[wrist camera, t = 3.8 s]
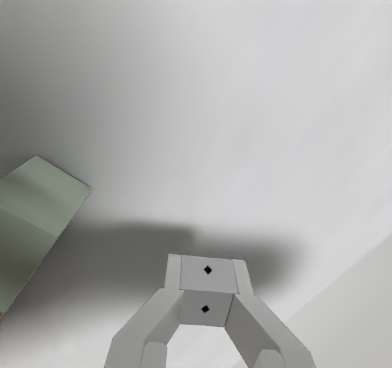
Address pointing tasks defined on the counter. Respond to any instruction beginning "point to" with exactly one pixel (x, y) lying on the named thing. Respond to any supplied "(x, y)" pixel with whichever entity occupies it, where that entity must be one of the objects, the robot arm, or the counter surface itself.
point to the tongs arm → (32, 220)
